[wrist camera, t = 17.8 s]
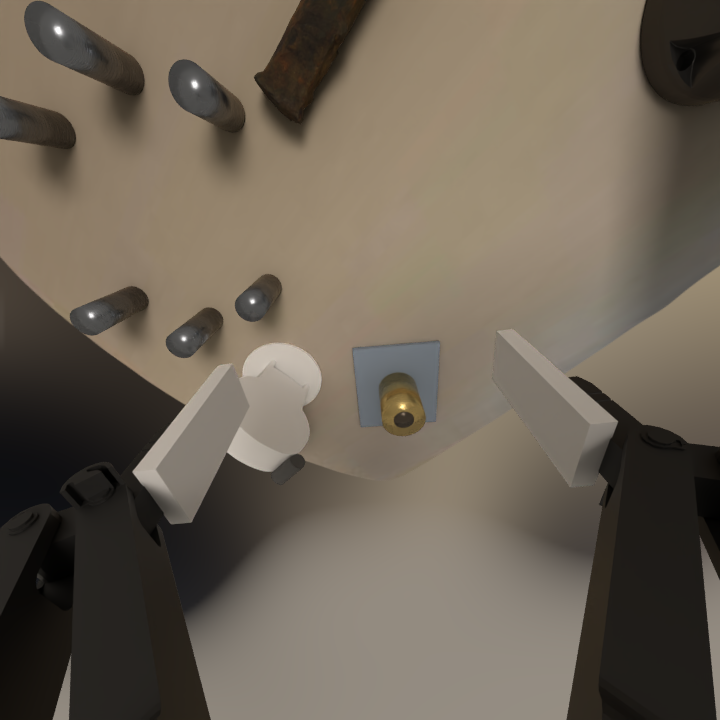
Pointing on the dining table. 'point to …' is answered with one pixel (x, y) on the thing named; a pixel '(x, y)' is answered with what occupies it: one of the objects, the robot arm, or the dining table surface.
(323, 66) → the hand tool
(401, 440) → the dining table surface
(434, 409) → the slate board
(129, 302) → the spacer posts
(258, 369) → the panda figurine
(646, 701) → the robot arm
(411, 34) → the dining table surface
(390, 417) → the gold metal cylinder
